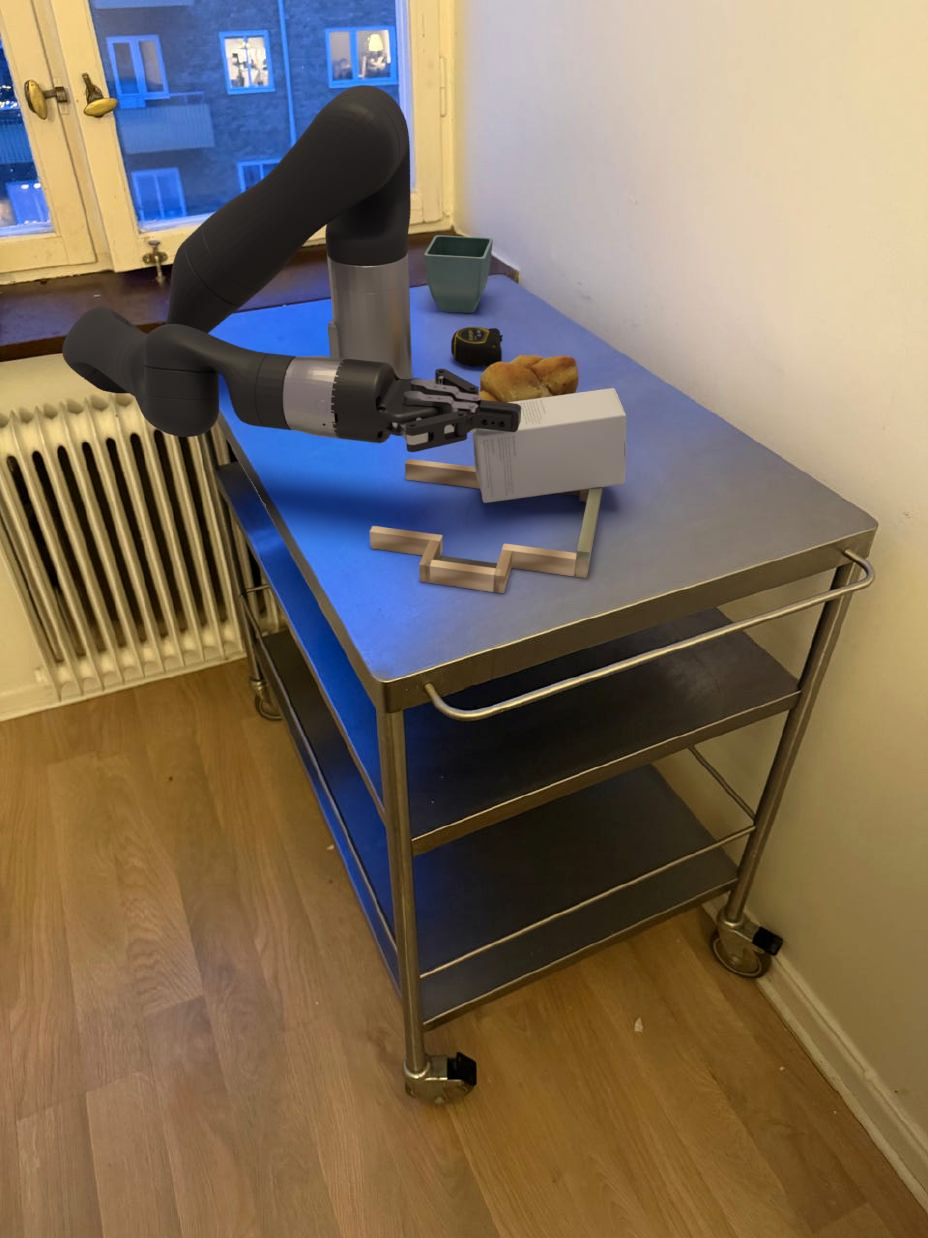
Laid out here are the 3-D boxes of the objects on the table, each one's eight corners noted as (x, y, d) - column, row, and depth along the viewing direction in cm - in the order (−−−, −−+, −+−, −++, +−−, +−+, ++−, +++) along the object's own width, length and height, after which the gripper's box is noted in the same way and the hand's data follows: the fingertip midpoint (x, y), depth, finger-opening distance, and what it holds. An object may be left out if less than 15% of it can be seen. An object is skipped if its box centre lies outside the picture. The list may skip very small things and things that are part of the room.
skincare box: (474, 473, 93) (612, 456, 94) (482, 506, 89) (626, 488, 89) (469, 402, 87) (616, 384, 88) (477, 433, 83) (631, 414, 84)
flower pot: (424, 316, 130) (423, 253, 124) (435, 294, 137) (435, 233, 131) (483, 320, 129) (484, 257, 123) (491, 298, 136) (493, 237, 130)
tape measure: (501, 373, 116) (502, 346, 114) (449, 371, 116) (449, 344, 114) (502, 351, 121) (503, 325, 119) (452, 349, 121) (452, 323, 119)
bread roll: (482, 441, 102) (483, 377, 97) (454, 404, 109) (454, 342, 104) (582, 424, 106) (589, 361, 100) (549, 389, 112) (554, 328, 107)
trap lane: (358, 572, 83) (356, 547, 81) (422, 445, 101) (422, 421, 99) (581, 604, 80) (584, 578, 78) (606, 467, 98) (610, 443, 96)
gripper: (364, 403, 91) (528, 421, 89) (322, 467, 82) (505, 490, 79) (359, 333, 87) (533, 350, 84) (313, 393, 77) (508, 415, 74)
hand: (519, 418), depth 81 cm, fingers closed
